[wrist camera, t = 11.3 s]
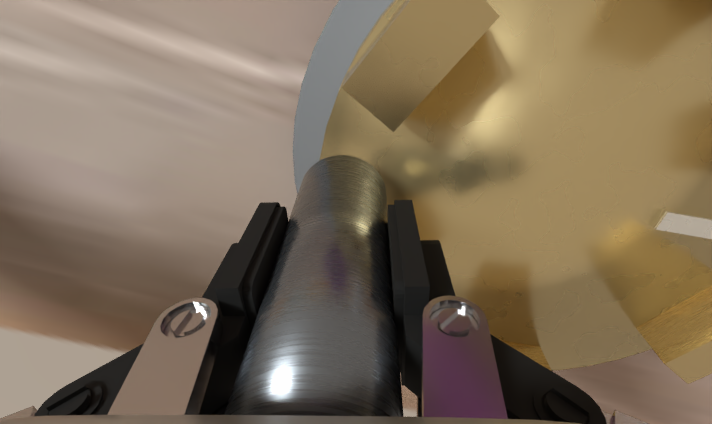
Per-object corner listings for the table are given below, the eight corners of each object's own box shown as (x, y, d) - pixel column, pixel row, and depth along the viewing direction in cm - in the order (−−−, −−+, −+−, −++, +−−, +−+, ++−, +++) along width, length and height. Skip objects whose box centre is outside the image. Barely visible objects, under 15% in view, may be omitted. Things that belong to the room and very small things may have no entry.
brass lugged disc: (902, 154, 15) (1083, 208, 11) (510, 378, 23) (538, 454, 20) (641, -328, 9) (833, -560, 5) (241, 197, 18) (203, 254, 14)
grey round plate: (399, 346, 27) (402, 384, 24) (214, 34, 17) (184, 40, 14) (766, 243, 21) (822, 279, 19) (815, -317, 11) (952, -414, 9)
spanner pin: (393, 162, 13) (438, 504, 5) (378, 234, 15) (388, 580, 6) (303, 148, 13) (175, 477, 4) (298, 223, 14) (198, 563, 6)
